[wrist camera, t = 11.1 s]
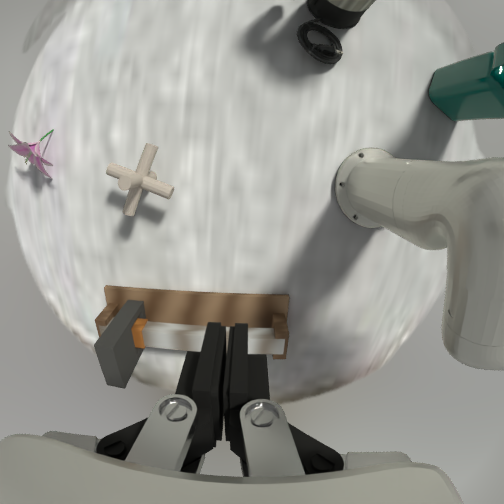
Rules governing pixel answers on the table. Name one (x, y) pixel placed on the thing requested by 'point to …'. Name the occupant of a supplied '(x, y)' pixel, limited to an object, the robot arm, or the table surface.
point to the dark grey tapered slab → (120, 345)
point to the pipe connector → (139, 180)
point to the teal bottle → (471, 87)
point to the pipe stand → (200, 318)
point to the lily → (31, 152)
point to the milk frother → (335, 15)
